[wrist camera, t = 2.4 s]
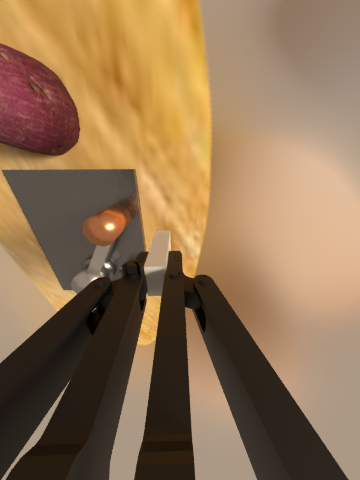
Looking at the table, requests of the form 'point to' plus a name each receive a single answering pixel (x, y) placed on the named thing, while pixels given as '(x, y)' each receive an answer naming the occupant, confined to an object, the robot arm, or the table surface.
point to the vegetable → (34, 106)
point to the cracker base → (78, 215)
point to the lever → (101, 242)
